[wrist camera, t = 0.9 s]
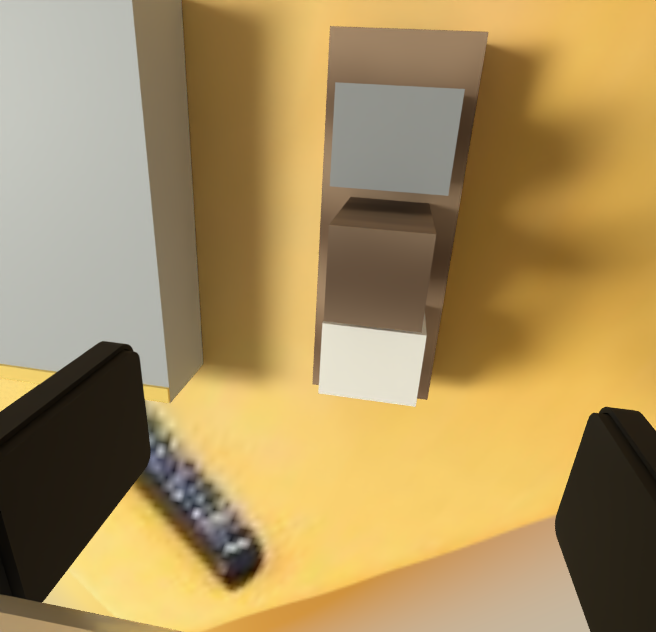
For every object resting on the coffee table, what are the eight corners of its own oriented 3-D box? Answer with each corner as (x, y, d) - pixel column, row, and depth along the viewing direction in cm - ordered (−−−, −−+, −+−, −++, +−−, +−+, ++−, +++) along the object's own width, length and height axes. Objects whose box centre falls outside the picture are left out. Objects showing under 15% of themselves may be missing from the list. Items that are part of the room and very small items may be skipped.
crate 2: (334, 294, 26) (322, 323, 22) (424, 304, 26) (426, 335, 22) (330, 357, 28) (318, 393, 24) (414, 368, 27) (415, 406, 23)
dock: (-54, -9, 26) (-156, -38, 21) (181, -3, 24) (126, -32, 20) (26, 340, 35) (-34, 374, 30) (203, 363, 33) (168, 404, 28)
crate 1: (347, 87, 22) (335, 82, 18) (455, 93, 21) (464, 89, 18) (342, 175, 24) (329, 186, 20) (442, 183, 23) (448, 195, 19)
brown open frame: (340, 38, 24) (295, -14, 15) (477, 43, 23) (524, -9, 14) (322, 358, 32) (284, 459, 22) (425, 371, 31) (432, 482, 21)
